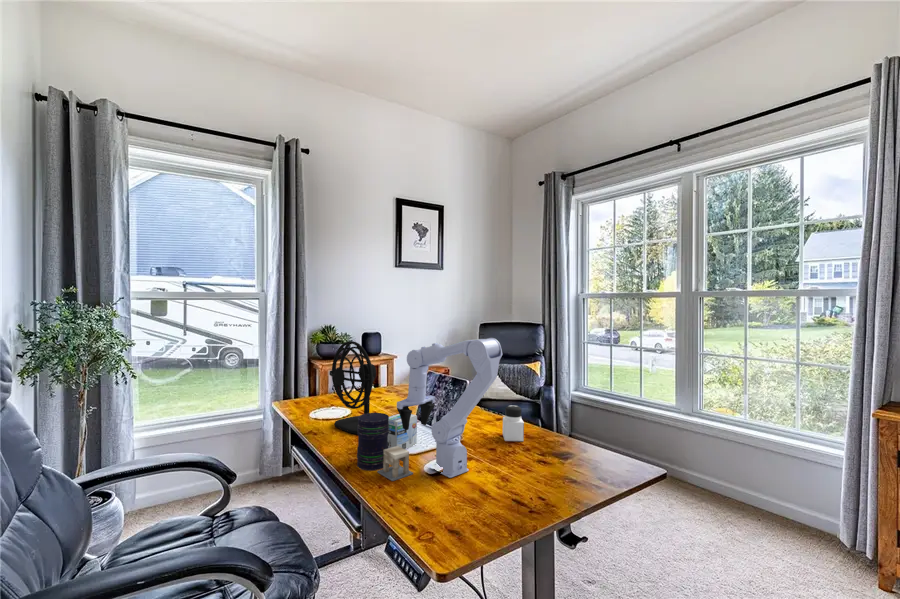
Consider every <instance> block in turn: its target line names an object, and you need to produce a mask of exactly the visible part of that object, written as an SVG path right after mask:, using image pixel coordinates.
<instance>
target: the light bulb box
mask: <svg viewBox="0 0 900 599" xmlns="http://www.w3.org/2000/svg"><path fill="white" fill-rule="evenodd" d="M388 421H389V434H388V448H392V447H395V446H399V447H401V448H403V449H405V450H407V449H406V448H408V447H410V446H413V445H415V444H417V442H418V441H417V440H418V439H417V437H418V434H417V433H418V415H416V414H412V413H411V417H410V422H409V429H408V430H405V429H403V426H402V421H401V417H400V414H399V413H397V414H393V415H391V416H389V420H388ZM415 446H416V445H415ZM413 447H414V446H413ZM410 448H411V447H410ZM408 449H409V448H408Z"/></svg>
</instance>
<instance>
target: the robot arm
mask: <svg viewBox="0 0 900 599" xmlns="http://www.w3.org/2000/svg"><path fill="white" fill-rule="evenodd" d="M460 354H463V355H464V357H468V358H469V360H470V362H471V364H472V366H473V368H474V370H475V372H476V374H475V376H474V377H473V378H472V380H471V381H470V383H469V384H468V385H467V386H466V388H465V389H464V391H463V393H462V394H461V395H460V396H459V397H458V399H457V401H456V402H455V404H454V405H453V406H452V408H451V409H450V411H448V412H447V413H446V414H445V415H444V416H442V417H441V418H440V420H439V421H436V422H434V423H433V424H432V426H431V435H432V438H433V439H434V441H435V444H436V446H435V447H436V448H435V452H436V453H435V454H436V455H435V456H436V457H435V464H436V463H437V464H438V465H439V466H440V467H443V469H444V470H443V472H441V473H440V474H441V475H443V476H445V477H447V478H450V479H451V478H454V477H457V476H460V475H461V474H464V473H466V472H469V470H470V469H469V468H467V467H468V466H467V465H468V450H467V448H466V446H465V445H463V444H462V443H461V441H460V440H461V437H462V436H461V435H462V434H463V433H464V431H465V427H466V424H467V423H468V419H467V418H468V416H469V415H470V414H471V413H472V412H473V410H474V409H475V408H476V406H477V404H478V403H479V402H480V401H481V399H482V398H483V397H484V395H485V394H486V393H487V391H488V390H489V388H490V387H491V386H492V385H493V383H494V382H495V380H497V377H498V371H499V367H500V366H499V365H500V361H501V358H502V356H503V350H502V346H501V343H500V341H498V340H497V339H496V338H494V337H488V338H478V339H475V338H474V339H466V340H463V341H459V342H456V343H453V344H449V345H445V346H444V345H443V344H441V343H438V342H434V343H431V346H427V347H426V346H422V347H420V349H412V350H410V351H409V352H408V353H407V355H406V362H407V364H408V366H409V372H408V373H409V374H408V375H409V377H408V389H407V390H408V393H407V397H406V398H404V399H402V400H400V401H396V410H397V411H398V414H400V417H401V421H402V426H403V429H405V430H408V429H409V422H410V417H411V414H412V413H413V410H412V409H410V407H415V406H419V407H420V408H419V409H420V424H421V425H423V426H427V423H428V420H429V418H430V415H431V413H432V411H433V409H434V408H435V404H434V403H435V402H436V396H434V395H430V394H429V395H426V394H427V393H426V392H427V378H428V371H429V366H430V365H431V366H432V365H435V364H440V363H444V362H445V361H446V360H447V357H451V356H456V355H460Z"/></svg>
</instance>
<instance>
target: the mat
mask: <svg viewBox="0 0 900 599" xmlns="http://www.w3.org/2000/svg"><path fill="white" fill-rule="evenodd" d="M392 471H393V466H392V465H390V466H389V472H386V473H385V472H384V471H383V468H382V469H379V470H376V472H377V473H378V474H380V475H381V476H383V478H386V479H388V480H389V481H391V482H395V481H398V480H400V479H403V478H406V477H409V476H412V475H414V472H413V471H411V470H409V473H408V474H404V473H403V465H402V466H401V465H400V464H399V468H398V477H396V478H394V477H392Z"/></svg>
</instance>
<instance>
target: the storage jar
mask: <svg viewBox="0 0 900 599" xmlns="http://www.w3.org/2000/svg"><path fill="white" fill-rule="evenodd" d="M358 416H359V417H358V426H357V430H358V432H357V436H358V437H357V438H358V439H357V441H358V444H357V449H356V460H357V463H356V465H357V468H358V467H359V469H360V470H363V471H379V470H382V469H383V462H384V450H385V449H388V434H389V421H388V420H389V417H390V416H389V415H388V414H387V413H381V412H369V413H366V414H364V413H363V414H360V415H358Z"/></svg>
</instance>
